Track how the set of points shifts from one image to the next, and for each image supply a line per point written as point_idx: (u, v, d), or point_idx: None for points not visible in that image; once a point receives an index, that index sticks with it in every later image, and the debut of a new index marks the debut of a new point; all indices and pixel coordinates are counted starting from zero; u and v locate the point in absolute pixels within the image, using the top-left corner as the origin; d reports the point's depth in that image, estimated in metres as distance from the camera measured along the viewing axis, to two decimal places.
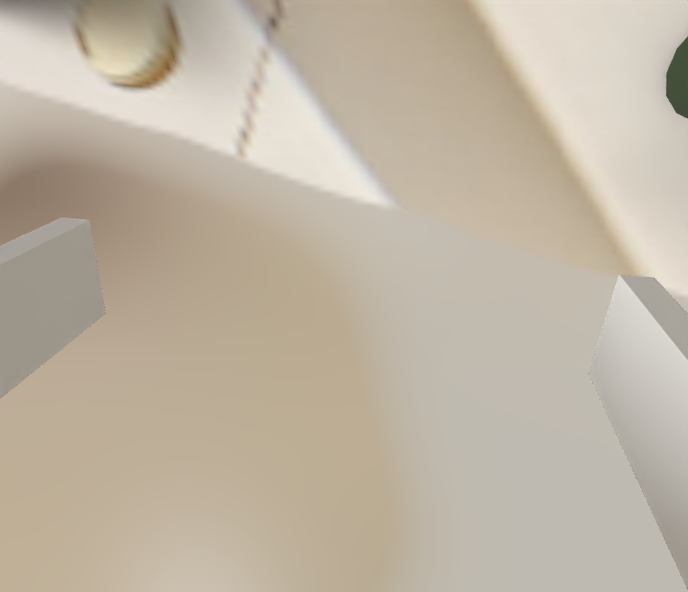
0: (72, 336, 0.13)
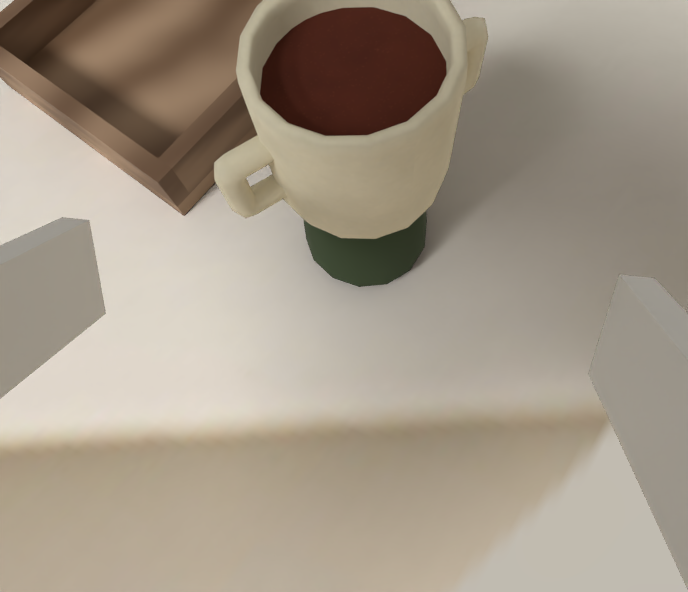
0: (72, 336, 0.13)
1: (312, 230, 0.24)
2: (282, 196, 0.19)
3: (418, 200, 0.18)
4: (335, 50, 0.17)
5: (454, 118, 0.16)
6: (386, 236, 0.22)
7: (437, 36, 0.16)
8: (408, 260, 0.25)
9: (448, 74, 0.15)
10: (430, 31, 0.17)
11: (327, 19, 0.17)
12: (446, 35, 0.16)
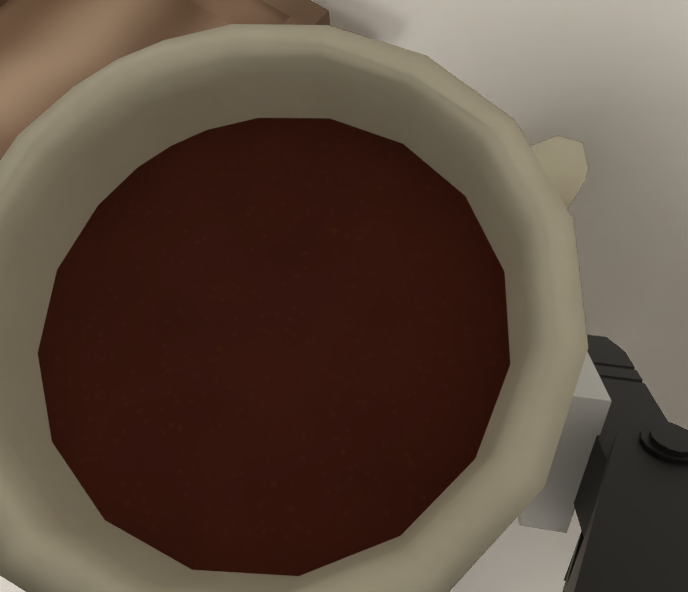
0: None
1: None
2: None
3: None
4: (233, 229, 0.07)
5: None
6: None
7: (483, 210, 0.07)
8: None
9: (531, 380, 0.05)
10: (463, 188, 0.07)
11: (221, 146, 0.08)
12: (512, 227, 0.06)
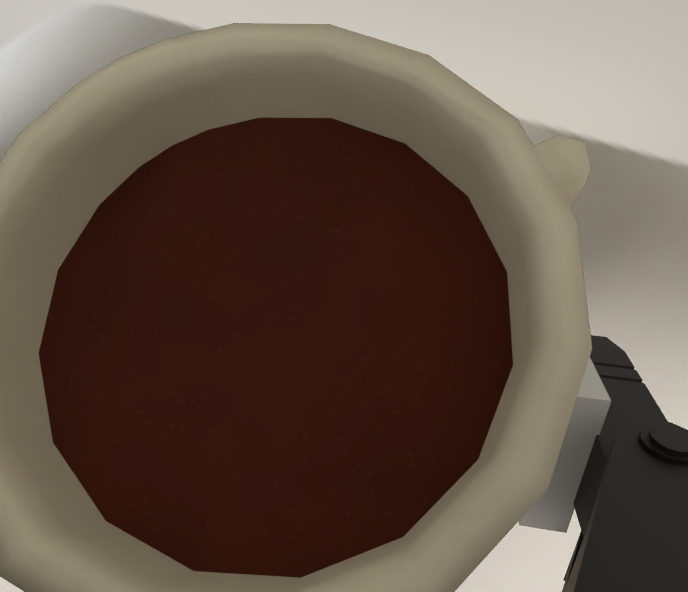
0: None
1: None
2: None
3: None
4: (234, 229, 0.07)
5: None
6: None
7: (485, 210, 0.06)
8: None
9: (534, 381, 0.05)
10: (465, 188, 0.07)
11: (222, 146, 0.08)
12: (515, 227, 0.06)
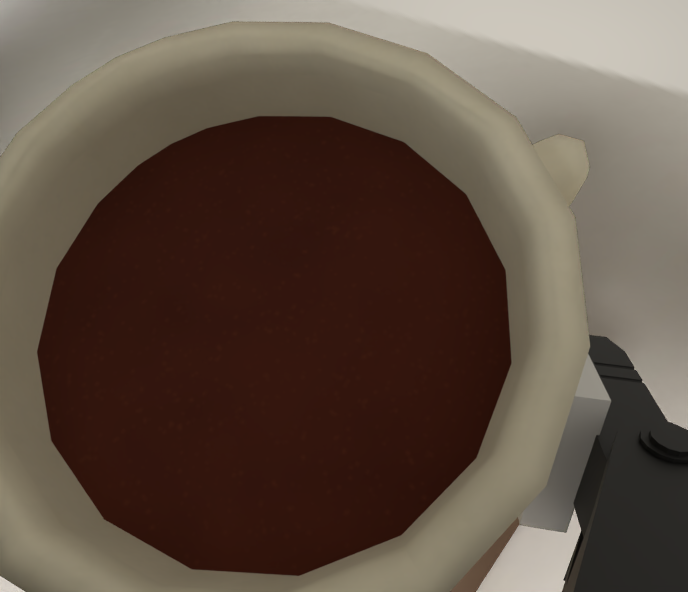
0: None
1: None
2: None
3: None
4: (233, 227, 0.07)
5: None
6: None
7: (484, 209, 0.06)
8: None
9: (532, 379, 0.05)
10: (463, 186, 0.07)
11: (221, 144, 0.07)
12: (513, 225, 0.06)
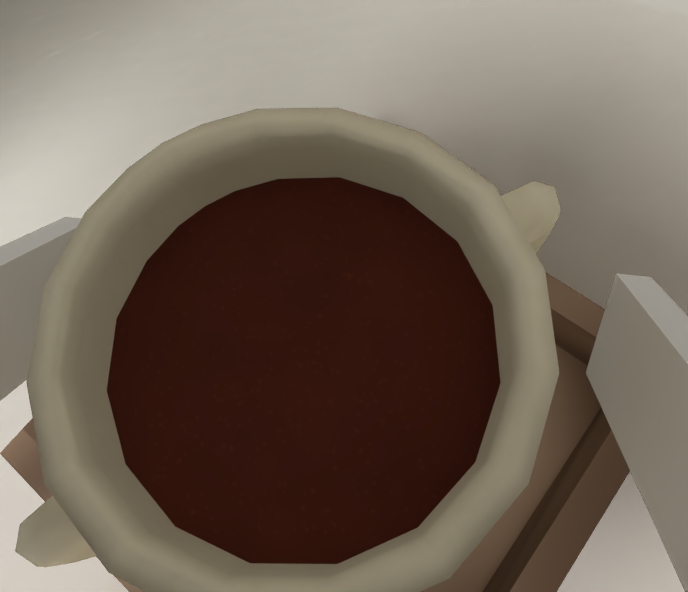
0: None
1: None
2: None
3: None
4: (263, 277, 0.08)
5: None
6: None
7: (472, 256, 0.08)
8: None
9: (515, 400, 0.06)
10: (455, 236, 0.08)
11: (248, 205, 0.09)
12: (497, 273, 0.07)
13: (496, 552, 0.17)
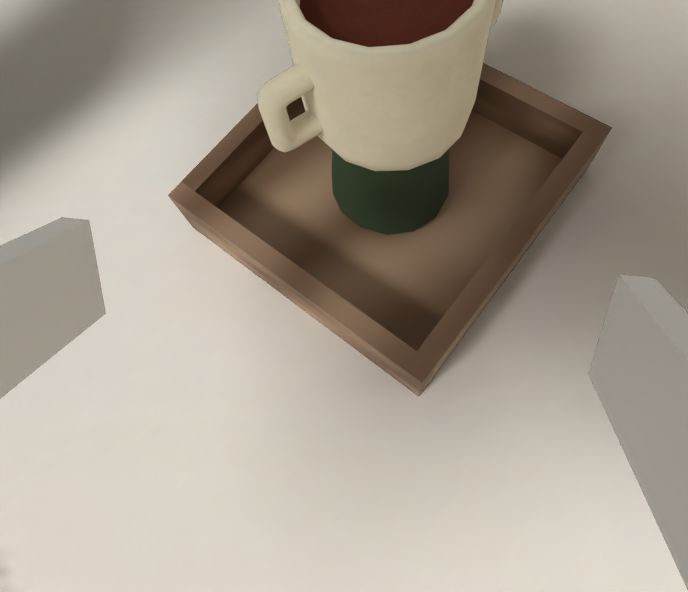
0: (72, 336, 0.13)
1: (342, 176, 0.24)
2: (319, 130, 0.20)
3: (450, 125, 0.19)
4: None
5: (485, 36, 0.17)
6: (415, 175, 0.23)
7: None
8: (434, 205, 0.26)
9: None
10: None
11: None
12: None
13: (487, 258, 0.27)
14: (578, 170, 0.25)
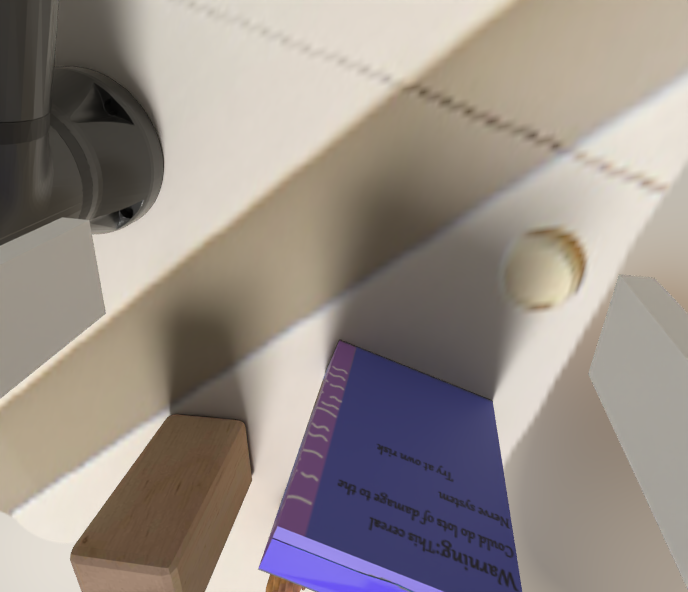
0: (72, 336, 0.13)
1: None
2: None
3: None
4: None
5: None
6: None
7: None
8: None
9: None
10: None
11: None
12: None
13: None
14: None
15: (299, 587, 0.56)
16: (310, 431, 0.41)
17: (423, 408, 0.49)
